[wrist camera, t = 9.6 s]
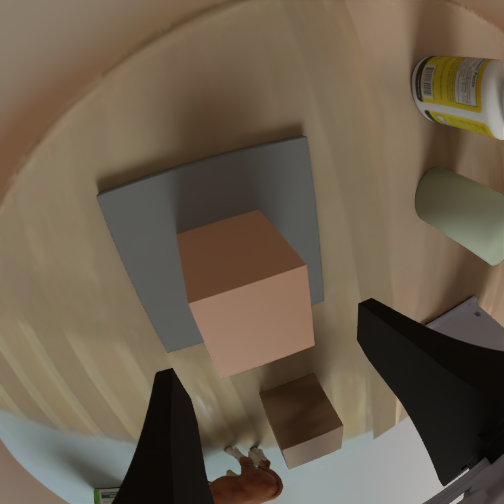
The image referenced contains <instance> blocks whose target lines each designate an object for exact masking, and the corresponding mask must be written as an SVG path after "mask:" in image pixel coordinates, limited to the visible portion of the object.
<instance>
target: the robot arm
mask: <svg viewBox="0 0 504 504" xmlns="http://www.w3.org/2000/svg"><path fill="white" fill-rule="evenodd" d="M476 302H477V297H476V296H473V297H472V298H470V299H468V300H467V301H465V302H464V303H462V304H461V305H459V306H457V307H456V308H454V309H452V310H451V311H449V312H447V313H446V314H444V315H442V316H441V317H439V318H437V319H436V320H434V321H432V322H430V323H429V324H427V325H425V326H424V325H422V324H420V323H418V322H416V321H414V320H412V319H410V318H408V317H406V316H405V315H403V314H401V313H399V312H397V311H395V310H393V309H392V308H390V307H388V306H386V305H384V304H382V303H380V302H379V301H377V300H375V299H373V298H370V299H368V300H365V301H363V302H361V303H358V327H357V341H358V343H359V344H360V346H361V348H362V350H363V351H364V353H365V355H366V356H367V358H368V360H369V361H370V362H371V364H372V365H373V366H374V368H375V369H376V370H377V372H378V373H379V374H380V376H381V377H382V378H383V379H384V381H385V382H386V383H387V385H388V386H389V387H390V388H391V390H392V391H393V392H394V394H395V395H396V396H397V398H398V399H399V400H400V402H401V403H402V405H403V406H404V408H405V410H406V411H407V413H408V415H409V416H410V418H411V420H412V421H413V424H414V425H415V427H416V429H417V431H418V433H419V435H420V437H421V439H422V441H423V443H424V445H425V447H426V449H427V451H428V453H429V456H430V458H431V460H432V463H433V465H434V468H435V470H436V473H437V475H438V478H439V480H440V482H441V484H442V485H443V486H446V485H447V484H448V483H450V482H451V481H453V480H454V479H455V478H457V477H458V476H459V475H461V474H462V473H463V472H464V471H466V470H467V469H468V468H469V471H468V472H467V473H466V474H464V475H463V476H462V477H460V478H459V479H458V480H456V481H455V482H454V483H452V484H451V485H450V486H448V487H447V488H445V489H444V490H443V491H441V492H440V493H438V494H437V495H435V496H434V497H432V498H431V499H429V500H428V501H426V502H425V503H423V504H449V503H450V502H452V501H453V500H455V499H456V498H457V497H459V496H460V495H461V494H463V493H464V492H465V493H464V498H463V500H461V501H460V502H458V503H457V504H504V328H503V327H502V326H501V325H500V324H499V323H498V322H497V321H496V320H494V319H493V318H492V317H491V316H490V315H489V314H488V313H487V312H485V311H484V310H483V309H482V308H481V307H480V306H478V305H477V304H476ZM111 504H215V502H214V499H213V496H212V493H211V490H210V487H209V484H208V480H207V476H206V471H205V465H204V460H203V454H202V448H201V442H200V436H199V429H198V423H197V419H196V416H195V412H194V408H193V405H192V401H191V398H190V396H189V395H188V393H187V392H186V390H185V388H184V387H183V385H182V383H181V382H180V380H179V378H178V377H177V375H176V373H175V371H174V370H173V368H170V369H167V370H163V371H159V372H157V373H156V374H155V378H154V383H153V388H152V393H151V398H150V402H149V406H148V410H147V414H146V418H145V422H144V425H143V429H142V432H141V435H140V438H139V442H138V445H137V448H136V451H135V453H134V456H133V459H132V461H131V464H130V466H129V469H128V471H127V474H126V476H125V478H124V480H123V482H122V484H121V487H120V489H119V491H118V493H117V494H116V496H115V498H114V500H113V501H112V503H111Z"/></svg>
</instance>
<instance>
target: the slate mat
mask: <svg viewBox="0 0 504 504" xmlns="http://www.w3.org/2000/svg"><path fill="white" fill-rule="evenodd" d="M96 197H97V200H98V203H99V206H100V208H101V211H102V213H103V216H104V219H105V221H106V224H107V226H108V229H109V231H110V234H111V236H112V238H113V241H114V243H115V246H116V248H117V250H118V253H119V255H120V257H121V260H122V262H123V264H124V266H125V269H126V271H127V273H128V275H129V278H130V280H131V282H132V284H133V286H134V288H135V290H136V293H137V295H138V297H139V299H140V301H141V303H142V305H143V307H144V309H145V311H146V313H147V315H148V317H149V319H150V321H151V323H152V325H153V327H154V329H155V331H156V333H157V335H158V336H159V338H160V340H161V342H162V344H163V346H164V348H165V350H166V351H167V353H169V352H173V351H176V350H180V349H183V348H186V347H190V346H193V345H196V344H200V343H203V342H204V340H203V338H202V335H201V333H200V331H199V328H198V326H197V324H196V321H195V319H194V316H193V314H192V311H191V309H190V307H189V304H188V299H187V294H186V289H185V283H184V278H183V272H182V266H181V260H180V254H179V248H178V242H177V235H176V234H180V233H183V232H186V231H189V230H192V229H195V228H199V227H202V226H205V225H208V224H212V223H215V222H218V221H221V220H225V219H228V218H231V217H235V216H238V215H241V214H245V213H248V212H252V211H255V210H258V209H259V210H260V211H261V212H262V213H263V215H264V216H265V217H266V218H267V219H268V220H269V221H270V223H271V224H272V225H273V226H274V227H275V228H276V229H277V231H278V232H279V233H280V234H281V235H282V236H283V238H284V239H285V240H286V241H287V242H288V243H289V245H290V246H291V247H292V248H293V249H294V250H295V252H296V253H297V254H298V255H299V256H300V258H301V259H302V260H303V261H304V262H305V263H306V265H307V272H308V281H309V290H310V300H311V306H312V305H314V304H317V303H320V302H322V301H324V295H323V280H322V267H321V255H320V244H319V233H318V223H317V213H316V204H315V195H314V187H313V179H312V171H311V163H310V155H309V148H308V141H307V137H305V136H297V137H292V138H287V139H283V140H278V141H274V142H269V143H265V144H260V145H256V146H252V147H248V148H244V149H240V150H236V151H232V152H228V153H224V154H220V155H217V156H213V157H209V158H206V159H202V160H198V161H195V162H192V163H188V164H185V165H181V166H178V167H175V168H171V169H168V170H165V171H162V172H159V173H155V174H152V175H149V176H146V177H143V178H140V179H137V180H134V181H131V182H128V183H125V184H123V185H120V186H117V187H114V188H111V189H109V190H106V191H103V192H100V193H98V195H97V196H96Z"/></svg>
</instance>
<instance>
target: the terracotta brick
mask: <svg viewBox="0 0 504 504" xmlns="http://www.w3.org/2000/svg"><path fill="white" fill-rule="evenodd" d="M176 235H177V242H178V248H179V254H180V260H181V266H182V272H183V278H184V283H185V289H186V294H187V299H188V304H189V307H190V309H191V311H192V314H193V316H194V319H195V321H196V324H197V326H198V328H199V331H200V333H201V335H202V338H203V340H204V343H205V345H206V347H207V349H208V352H209V354H210V356H211V359H212V361H213V363H214V365H215V368H216V370H217V372H218V374H219V376H220V379H221V378H224V377H228V376H231V375H234V374H237V373H240V372H243V371H246V370H249V369H252V368H255V367H258V366H261V365H264V364H266V363H269V362H272V361H275V360H278V359H280V358H283V357H286V356H288V355H291V354H294V353H296V352H299V351H302V350H304V349H307V348H309V347H312V346H314V345H315V343H314V331H313V320H312V310H311V300H310V290H309V281H308V272H307V265H306V263H305V262H304V261H303V260H302V259H301V258H300V256H299V255H298V254H297V253H296V252H295V250H294V249H293V248H292V247H291V246H290V245H289V243H288V242H287V241H286V240H285V239H284V238H283V236H282V235H281V234H280V233H279V232H278V231H277V229H276V228H275V227H274V226H273V225H272V224H271V223H270V221H269V220H268V219H267V218H266V217H265V216H264V215H263V213H262V212H261V211H260V210H259V209H258V210H255V211H252V212H248V213H245V214H241V215H238V216H235V217H231V218H228V219H225V220H221V221H218V222H215V223H212V224H208V225H205V226H202V227H199V228H195V229H192V230H189V231H186V232H183V233H180V234H176Z"/></svg>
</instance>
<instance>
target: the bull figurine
mask: <svg viewBox="0 0 504 504" xmlns="http://www.w3.org/2000/svg"><path fill="white" fill-rule="evenodd" d="M224 451H225V452H226V453H228V454H229V455H232V456H234V457H235V458H236V459H237V460H238V461H239V463H240V465H241V475H237V474H235V473H234V472H232V471H231V470H228V471H227V475H226V476H222V477H220V478H218V479H216V480H214V481H213V482H210V481H208V484H209V487H210V490H211V493H212V496H213V499H214V502H215V504H261V503H263V502H266V501H269V500H273V499H275V498H277V497H278V496H279V495H280V494H281V492H282V489H283V484H282V481H281V478H280V477H279V476H278V475H277V474H276V473H275V472H274V471H273V470H271V469H269V467H270V461H269V460H268V459H267V458H266V457H265V455H264V454H263V451H262V449H258V448H256V447H254V448H251V449H250V451H249V452H248V455H249V457H246V456H244V455H243V454H242V453H241V452H240V451H239V449H237V448H236V447H235V448H234V449H232V448H231V447H227V448H225V449H224ZM254 464H255V465H257V466H258V467H256V466H255V465H254Z"/></svg>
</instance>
